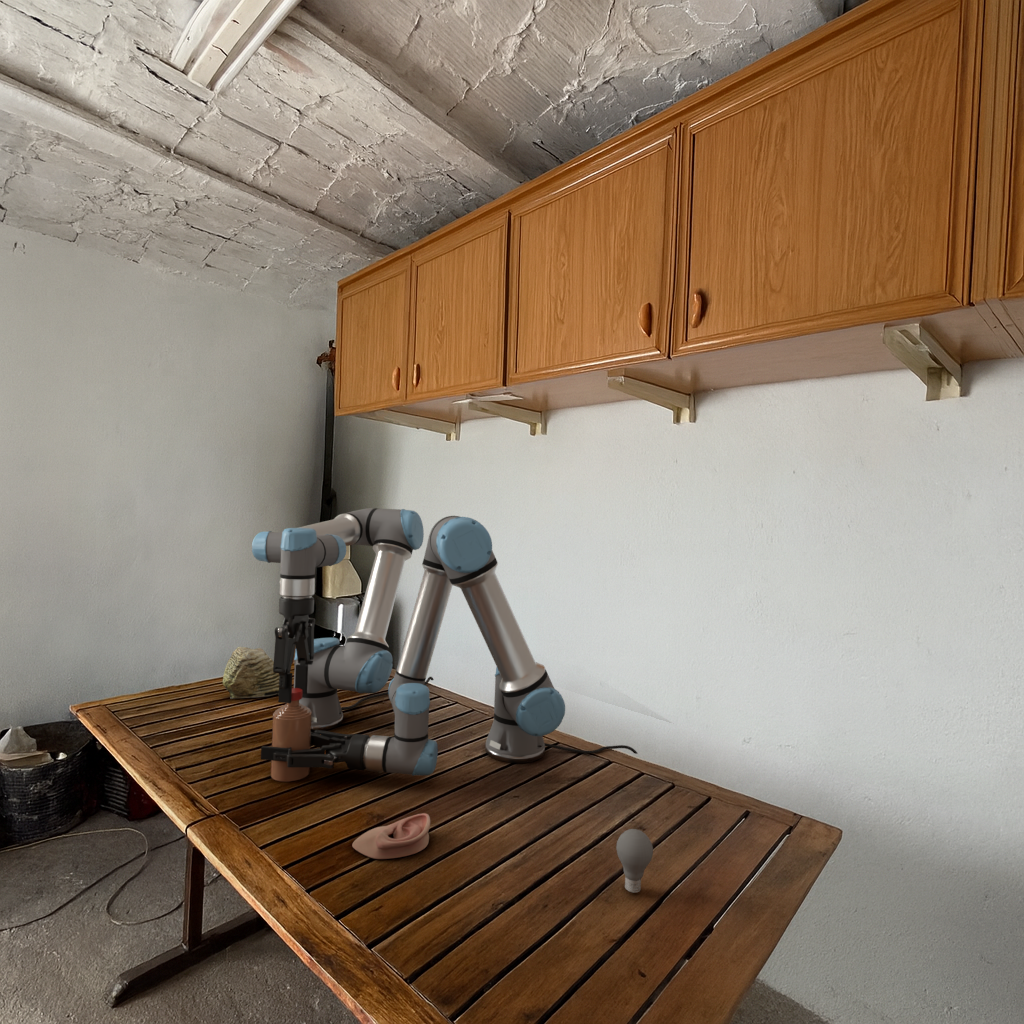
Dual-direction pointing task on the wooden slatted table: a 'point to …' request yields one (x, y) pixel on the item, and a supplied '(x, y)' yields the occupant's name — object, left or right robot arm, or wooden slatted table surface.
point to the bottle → (291, 738)
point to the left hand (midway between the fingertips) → (293, 697)
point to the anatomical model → (395, 838)
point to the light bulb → (634, 857)
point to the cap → (296, 694)
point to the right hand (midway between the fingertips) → (271, 744)
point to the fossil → (250, 674)
